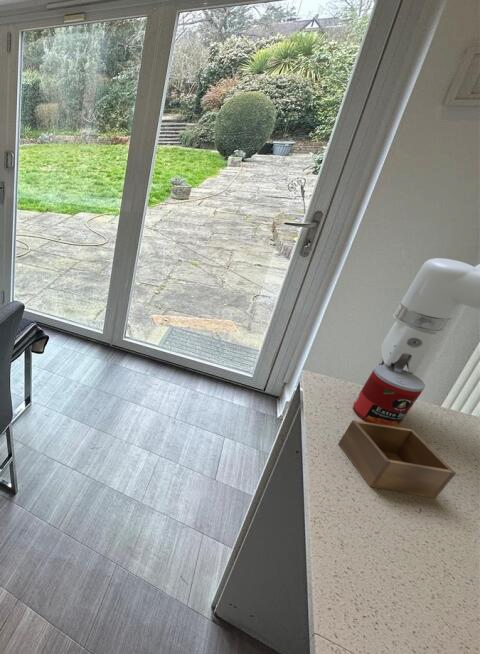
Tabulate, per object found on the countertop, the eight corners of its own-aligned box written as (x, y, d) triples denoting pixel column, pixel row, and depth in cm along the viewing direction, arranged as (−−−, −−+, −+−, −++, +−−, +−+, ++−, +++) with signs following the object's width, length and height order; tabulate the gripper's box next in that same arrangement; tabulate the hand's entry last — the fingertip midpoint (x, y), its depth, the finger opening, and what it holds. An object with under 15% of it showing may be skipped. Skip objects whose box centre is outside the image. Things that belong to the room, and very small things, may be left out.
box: (395, 453, 80) (412, 429, 77) (435, 498, 72) (456, 473, 69) (337, 443, 82) (352, 419, 79) (369, 486, 73) (387, 461, 70)
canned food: (364, 425, 87) (390, 385, 82) (343, 400, 94) (366, 361, 89) (407, 432, 85) (436, 392, 80) (382, 406, 92) (408, 367, 87)
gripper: (454, 339, 77) (405, 411, 86) (438, 309, 88) (396, 376, 96) (401, 325, 81) (358, 396, 90) (392, 298, 92) (354, 363, 100)
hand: (378, 385), depth 93 cm, fingers closed
